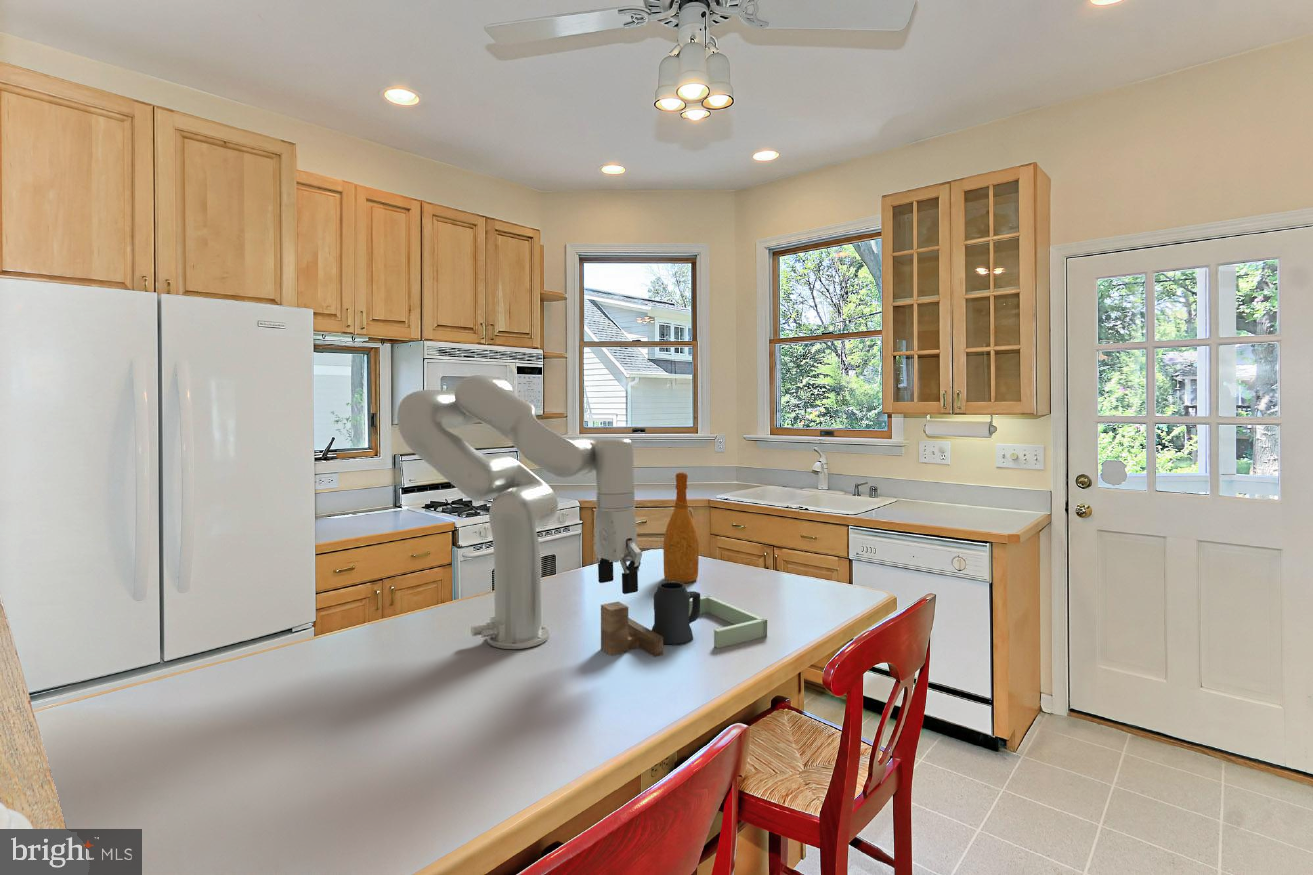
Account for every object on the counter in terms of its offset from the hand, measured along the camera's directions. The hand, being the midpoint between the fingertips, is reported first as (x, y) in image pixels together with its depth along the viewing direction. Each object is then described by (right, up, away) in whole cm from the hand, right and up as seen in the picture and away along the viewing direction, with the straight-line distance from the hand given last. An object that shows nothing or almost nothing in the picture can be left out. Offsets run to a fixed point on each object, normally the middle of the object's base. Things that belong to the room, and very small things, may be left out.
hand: (617, 587), depth 129 cm
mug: (+12, -13, +9) cm, 20 cm away
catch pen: (+20, -12, +14) cm, 27 cm away
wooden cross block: (+1, -13, +2) cm, 13 cm away
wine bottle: (+14, -10, +53) cm, 56 cm away
